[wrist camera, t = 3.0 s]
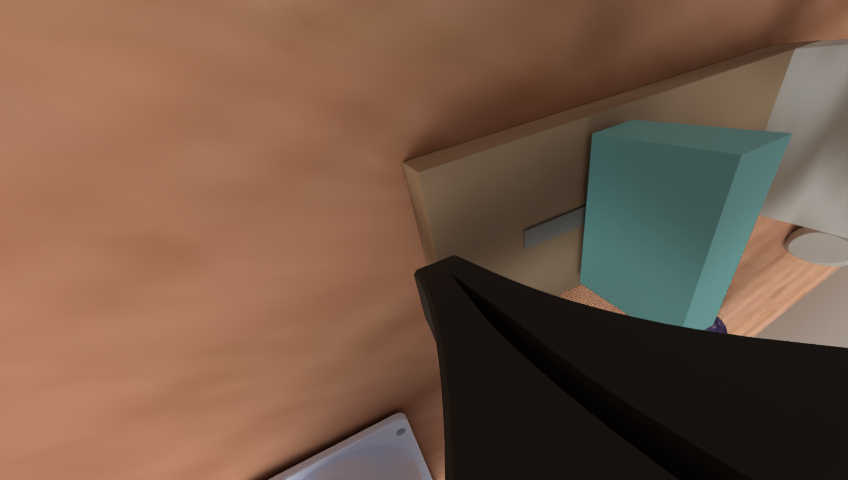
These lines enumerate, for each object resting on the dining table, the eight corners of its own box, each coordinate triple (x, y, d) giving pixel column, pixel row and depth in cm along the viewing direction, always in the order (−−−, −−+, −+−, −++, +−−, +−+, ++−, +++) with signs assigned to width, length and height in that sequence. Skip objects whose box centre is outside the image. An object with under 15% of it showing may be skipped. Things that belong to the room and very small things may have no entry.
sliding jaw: (610, 267, 14) (713, 324, 10) (579, 282, 13) (675, 346, 10) (632, 119, 10) (792, 133, 7) (592, 133, 10) (741, 154, 7)
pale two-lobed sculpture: (825, 193, 27) (818, 249, 28) (780, 202, 24) (774, 264, 25) (916, 191, 23) (904, 257, 24) (875, 203, 20) (864, 276, 21)
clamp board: (725, 191, 18) (873, 225, 13) (440, 321, 14) (515, 438, 9) (773, 44, 14) (1004, 22, 10) (402, 161, 10) (497, 224, 5)
